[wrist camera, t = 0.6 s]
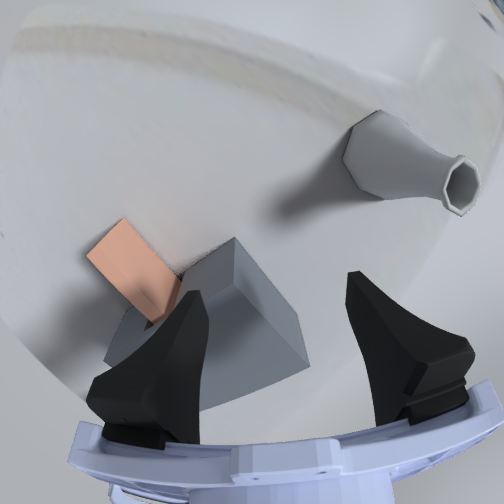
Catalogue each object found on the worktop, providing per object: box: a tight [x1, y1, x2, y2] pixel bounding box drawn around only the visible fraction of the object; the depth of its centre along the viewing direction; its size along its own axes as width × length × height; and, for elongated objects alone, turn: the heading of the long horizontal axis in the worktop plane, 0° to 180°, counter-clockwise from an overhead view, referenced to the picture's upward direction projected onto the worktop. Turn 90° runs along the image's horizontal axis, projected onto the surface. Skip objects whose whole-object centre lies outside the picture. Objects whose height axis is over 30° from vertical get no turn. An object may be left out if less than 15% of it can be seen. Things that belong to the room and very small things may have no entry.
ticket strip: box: [86, 218, 182, 325], centre depth 22 cm, size 1×16×5 cm, turn 35°
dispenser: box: [103, 237, 310, 412], centre depth 23 cm, size 14×10×7 cm
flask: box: [342, 109, 482, 217], centre depth 16 cm, size 7×7×10 cm
